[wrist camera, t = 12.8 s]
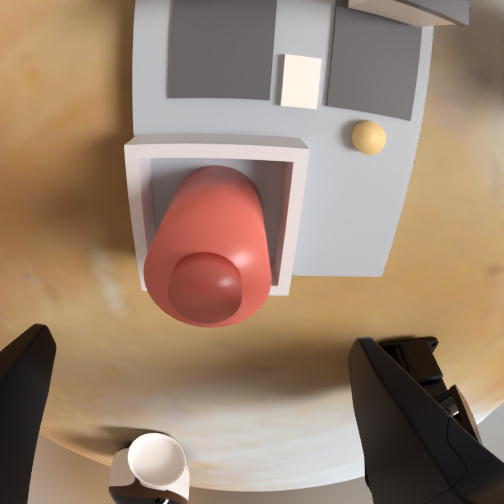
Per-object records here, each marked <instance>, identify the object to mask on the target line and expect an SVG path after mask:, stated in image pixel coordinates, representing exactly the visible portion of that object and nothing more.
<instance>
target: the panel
mask: <svg viewBox="0 0 504 504" xmlns="http://www.w3.org/2000/svg"><path fill="white" fill-rule="evenodd" d="M348 3H349V0H135V13H134V31H133V64H132V98H133V132H134V138H133V139H131V140H130V141H129V142H127V143H126V144H125V145H124V152H125V166H126V177H127V188H128V197H129V206H130V215H131V223H132V230H133V238H134V245H135V251H136V258H137V264H138V270H139V276H140V282H141V287H142V291H147V288H146V286H145V282H144V275H143V269H144V263H145V259H146V256H147V254H148V252H149V249H150V247H151V245H152V242H153V240H154V238H155V236H156V233H157V231H158V229H159V227H160V224H161V222H162V220H163V218H164V216H165V214H166V211H167V209H168V207H169V205H170V203H171V201H172V199H173V196H174V194H175V192H176V190H177V188H178V186H179V185H180V183H181V182H182V181H183V179H184V178H185V177H186V176H188V175H189V174H190V173H192V172H193V171H195V170H197V169H199V168H202V167H206V166H211V165H221V166H227V167H231V168H234V169H236V170H238V171H240V172H242V173H243V174H245V175H246V176H247V177H248V178H250V179H251V181H252V182H253V183H254V184H255V186H256V188H257V189H258V192H259V194H260V198H261V204H262V211H263V218H264V225H265V232H266V240H267V247H268V254H269V262H270V269H271V277H272V278H271V288H270V292H269V294H268V295H288V294H289V288H290V282H291V276H292V275H294V276H373V277H382V274H383V271H384V268H385V265H386V262H387V259H388V256H389V252H390V249H391V246H392V243H393V240H394V236H395V233H396V229H397V226H398V222H399V219H400V215H401V212H402V208H403V204H404V201H405V197H406V193H407V189H408V185H409V181H410V176H411V172H412V168H413V163H414V159H415V154H416V150H417V145H418V140H419V135H420V129H421V124H422V118H423V112H424V106H425V100H426V93H427V86H428V79H429V71H430V62H431V53H432V42H433V29H434V26H425V27H415V26H412V25H409V24H406V23H403V22H400V21H397V20H393V19H390V18H387V17H383V16H380V15H376V14H372V13H368V12H364V11H360V10H356V9H351V8H348Z"/></svg>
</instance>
